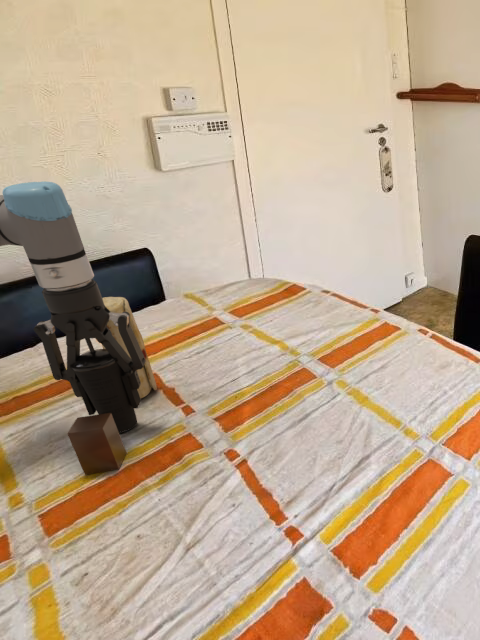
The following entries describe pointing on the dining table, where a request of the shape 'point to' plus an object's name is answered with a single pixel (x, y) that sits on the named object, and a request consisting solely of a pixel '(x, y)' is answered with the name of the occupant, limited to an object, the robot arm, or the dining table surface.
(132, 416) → the drinking cup
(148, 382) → the food model
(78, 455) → the block
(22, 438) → the dining table surface
